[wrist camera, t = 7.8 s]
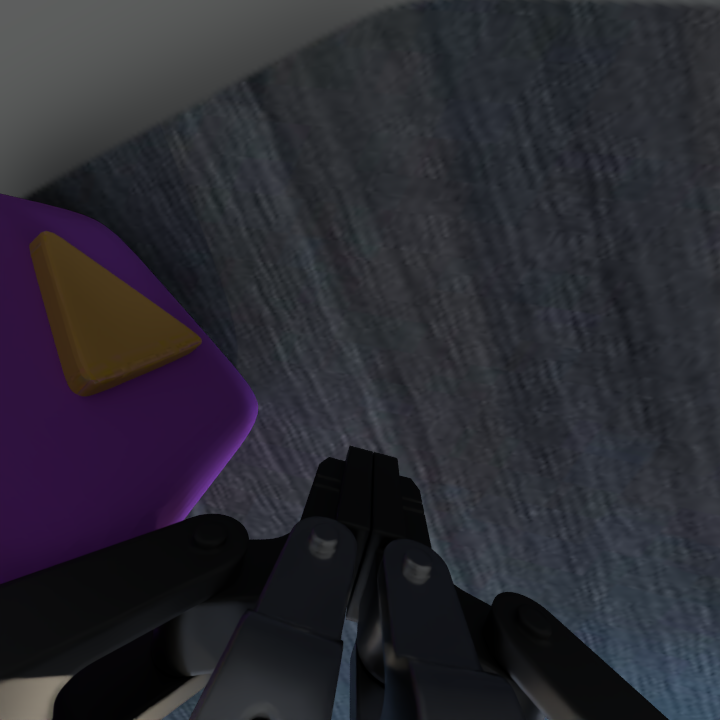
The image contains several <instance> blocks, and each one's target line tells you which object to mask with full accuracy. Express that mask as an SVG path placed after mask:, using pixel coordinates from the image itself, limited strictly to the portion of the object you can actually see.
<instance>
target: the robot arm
mask: <svg viewBox="0 0 720 720" xmlns="http://www.w3.org/2000/svg"><path fill="white" fill-rule="evenodd" d="M346 608H347V611H346ZM345 613H346V620H350V621H354V622H357V623H358V627H357V638H356V641H355V644H354V647H353V650H352V654H351V658H350V720H544V719H545V717H546V718H547V719H548V720H669V719H668V718H666V717H665V716H664V715H663V714H662V713H661V712H660V711H659V710H658V709H656V708H655V707H654V706H653V705H652V704H651V703H650V702H649V701H648V700H646V699H645V698H644V697H643V696H642V695H641V694H640V693H639V692H638V691H636V690H635V689H634V688H633V687H632V686H631V685H630V684H629V683H628V682H626V681H625V680H624V679H623V678H622V677H621V676H620V675H619V674H618V673H616V672H615V671H614V670H613V669H612V668H611V667H610V666H609V665H608V664H606V663H605V662H604V661H603V660H602V659H601V658H600V657H599V656H598V655H596V654H595V653H594V652H593V651H592V650H591V649H590V648H589V647H588V646H586V645H585V644H584V643H583V642H582V641H581V640H580V639H579V638H578V637H576V636H575V635H574V634H573V633H572V632H571V631H570V630H569V629H568V628H566V627H565V626H564V625H563V624H562V623H561V622H560V621H559V620H557V619H556V618H555V617H554V616H553V615H552V614H551V613H550V612H549V611H547V610H546V609H545V608H544V607H542V606H541V605H540V604H538V603H537V602H535V601H533V600H532V599H530V598H528V597H526V596H523V595H521V594H518V593H513V592H503V593H500V594H498V595H497V596H496V597H495V599H494V601H493V603H492V606H490V605H489V604H487V603H485V602H483V601H481V600H479V599H477V598H476V597H474V596H472V595H470V594H468V593H466V592H465V591H463V590H461V589H460V588H458V587H457V586H456V585H454V584H453V581H452V578H451V575H450V572H449V569H448V567H447V565H446V564H445V562H444V561H443V559H442V558H441V557H440V556H439V555H438V554H437V553H436V552H435V551H434V550H432V548H431V543H430V538H429V533H428V529H427V524H426V519H425V515H424V509H423V505H422V499H421V494H420V490H419V489H418V487H417V486H416V485H415V483H414V482H413V481H412V479H411V478H407V477H403V476H399V468H398V460H397V458H395V457H391V456H388V455H384V454H380V453H376V452H374V453H373V452H372V451H368V450H364V449H361V448H357V447H353V446H350V447H349V450H348V453H347V457H346V461H342V460H338V459H335V458H331V457H329V458H327V459H326V460H324V461H323V462H322V463H320V464H319V467H318V470H317V473H316V476H315V479H314V482H313V485H312V487H311V490H310V493H309V496H308V499H307V502H306V505H305V508H304V511H303V514H302V517H301V520H300V521H299V522H298V523H297V524H296V525H295V526H294V527H293V529H292V530H291V532H290V533H288V534H286V535H284V536H282V537H279V538H274V539H265V540H249V537H248V533H247V530H246V529H245V527H244V526H243V525H242V524H241V523H240V522H239V521H237V520H236V519H234V518H232V517H229V516H226V515H221V514H204V515H198V516H195V517H192V518H189V519H186V520H183V521H180V522H177V523H174V524H172V525H169V526H166V527H163V528H160V529H157V530H154V531H151V532H149V533H146V534H143V535H140V536H137V537H134V538H131V539H128V540H126V541H123V542H120V543H117V544H114V545H111V546H108V547H106V548H103V549H100V550H97V551H94V552H91V553H88V554H85V555H83V556H80V557H77V558H74V559H71V560H68V561H65V562H62V563H60V564H57V565H54V566H51V567H48V568H45V569H42V570H40V571H37V572H34V573H31V574H28V575H25V576H22V577H19V578H17V579H14V580H11V581H8V582H5V583H2V584H0V720H161V719H163V718H164V717H165V716H167V715H168V714H169V713H171V712H172V711H173V710H175V709H176V708H177V707H179V706H180V705H181V704H183V703H184V702H185V701H187V700H188V699H189V698H191V697H192V696H193V695H195V694H196V693H197V692H199V691H200V690H202V689H203V688H204V687H205V686H206V687H205V689H204V691H203V693H202V695H201V697H200V699H199V701H198V703H197V705H196V707H195V709H194V711H193V713H192V715H191V717H190V718H189V720H331V716H332V710H333V704H334V698H335V693H336V687H337V681H338V675H339V670H340V664H341V658H342V651H343V641H342V640H341V635H342V629H343V624H344V619H345Z"/></svg>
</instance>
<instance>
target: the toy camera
mask: <svg viewBox="0 0 720 720" xmlns="http://www.w3.org/2000/svg"><path fill="white" fill-rule="evenodd" d="M257 413H258V403H257V400H256V397H255V395H254V393H253V391H252V389H251V388H250V386H249V385H248V383H247V382H246V381H245V379H244V378H243V377H242V375H241V374H240V373H239V372H238V370H237V369H236V368H235V367H234V366H233V364H232V363H231V362H230V361H229V360H228V359H227V357H226V356H225V355H224V354H223V353H222V352H221V351H220V349H219V348H218V347H217V346H216V345H215V344H214V343H213V341H212V340H211V339H210V338H209V337H208V336H207V334H206V333H205V332H204V331H203V330H202V329H201V328H200V326H199V325H198V324H197V323H196V322H195V321H194V320H193V318H192V317H191V316H190V315H189V314H188V313H187V312H186V310H185V309H184V308H183V307H182V306H181V305H180V304H179V302H178V301H177V300H176V299H175V298H174V297H173V296H172V295H171V293H170V292H169V291H168V290H167V289H166V288H165V287H164V286H163V284H162V283H161V282H160V281H159V280H158V279H157V278H156V276H155V275H154V274H153V273H152V272H151V271H150V270H149V269H148V267H147V266H146V265H145V264H144V263H143V262H142V261H141V260H140V258H139V257H138V256H137V255H136V254H135V253H134V252H133V251H132V250H131V249H130V248H129V247H128V246H127V245H126V244H125V243H124V242H123V241H122V240H121V239H120V238H119V237H118V236H117V235H116V234H115V233H114V232H112V231H111V230H110V229H109V228H107V227H106V226H105V225H103V224H101V223H100V222H98V221H96V220H94V219H92V218H90V217H87V216H85V215H83V214H79V213H76V212H73V211H70V210H66V209H62V208H59V207H55V206H51V205H47V204H43V203H39V202H35V201H30V200H26V199H22V198H17V197H13V196H9V195H4V194H0V584H2V583H5V582H8V581H11V580H14V579H17V578H19V577H22V576H25V575H28V574H31V573H34V572H37V571H40V570H42V569H45V568H48V567H51V566H54V565H57V564H60V563H62V562H65V561H68V560H71V559H74V558H77V557H80V556H83V555H85V554H88V553H91V552H94V551H97V550H100V549H103V548H106V547H108V546H111V545H114V544H117V543H120V542H123V541H126V540H128V539H131V538H134V537H137V536H140V535H143V534H146V533H149V532H151V531H154V530H157V529H160V528H163V527H166V526H169V525H172V524H174V523H177V522H180V521H183V520H184V519H185V517H186V516H187V515H188V514H189V512H190V511H191V510H192V508H193V507H194V506H195V504H196V503H197V502H198V500H199V499H200V498H201V497H202V495H203V494H204V493H205V491H206V490H207V489H208V487H209V486H210V485H211V484H212V482H213V481H214V480H215V478H216V477H217V476H218V474H219V473H220V472H221V470H222V469H223V468H224V467H225V465H226V464H227V463H228V461H229V460H230V459H231V457H232V456H233V455H234V454H235V452H236V451H237V450H238V448H239V447H240V445H241V444H242V443H243V441H244V440H245V438H246V437H247V435H248V434H249V432H250V430H251V429H252V427H253V425H254V422H255V420H256V417H257Z"/></svg>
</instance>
